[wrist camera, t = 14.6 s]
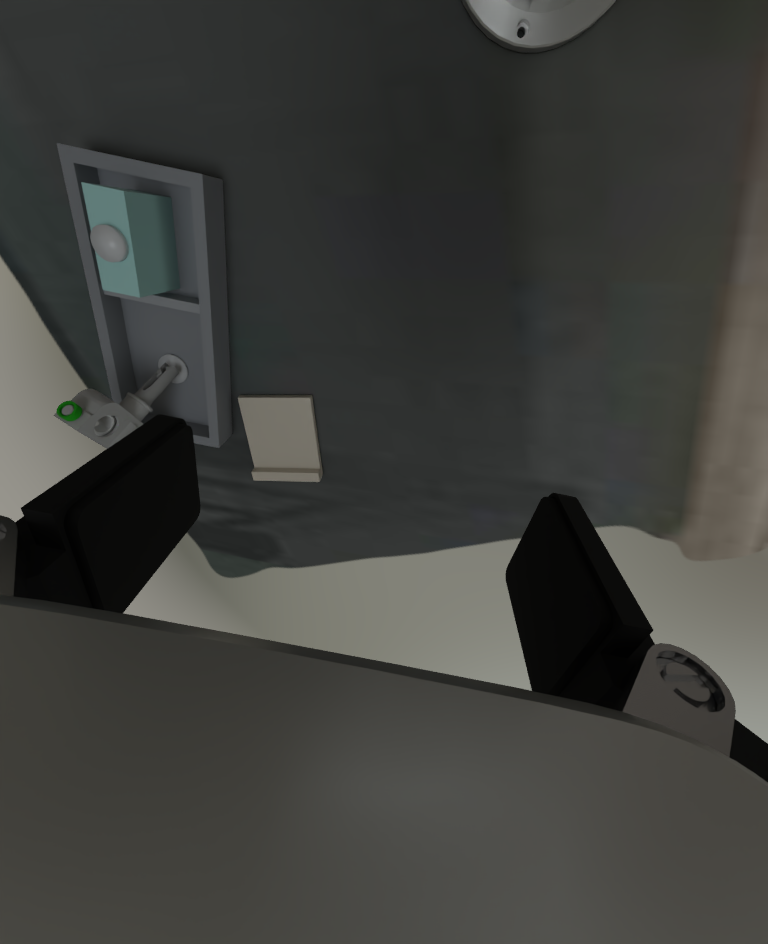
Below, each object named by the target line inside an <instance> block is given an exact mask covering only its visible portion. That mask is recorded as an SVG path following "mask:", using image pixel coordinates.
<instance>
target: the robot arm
mask: <svg viewBox="0 0 768 944" xmlns="http://www.w3.org/2000/svg"><path fill="white" fill-rule="evenodd" d="M615 1H616V0H462V2H463V5H464V7H465V8H466V10H467V12H468V13H469V15H470V17H471V18H472V20H473V22H474V23H475V24H476V26H477V27H478V28H479V29H480V30H481V31H482V32H483V33H484V34H485V35H486V36H487V37H488V38H489V39H491V40H492V41H494V42H496V43H497V44H499V45H500V46H502V47H504V48H507V49H510V50H514V51H517V52H527V53H538V52H543V51H547V50H551V49H555V48H558V47H560V46H562V45H564V44H566V43H568V42H570V41H572V40H574V39H575V38H577V37H578V36H579V35H581V34H582V33H583V32H585V31H586V30H587V29H589V28H590V27H591V26H593V25H594V24H595V23H596V22H597V21H598V20H599V19H600V18H601V17H602V15H603V14H604V13H605V12H606V11H607V10H608V9H609V8H610V7H611V6H612V5H613V4H614V2H615ZM518 30H522V31H523V32H524V37H523V38H519V37H518V36H517V31H518ZM21 510H22V512H23V514H24V517H22V518H21V519H19V520H18V521H17V522H14V521H13V520H11V519H10V518H8V517H4V516H0V944H768V744H767V743H766V742H764V741H763V740H762V739H761V738H759V737H758V736H757V735H755V734H754V733H752V732H751V731H750V730H749V729H747V728H746V727H745V726H743V725H742V724H741V723H740V722H738V721H737V720H735V711H736V710H735V702H734V699H733V697H732V695H731V693H730V691H729V689H728V688H727V686H726V685H725V683H724V682H723V681H722V679H721V678H720V677H719V676H718V675H717V674H716V673H715V672H714V671H713V670H712V669H711V668H710V667H709V666H708V665H707V664H705V663H704V662H703V661H702V660H700V659H699V658H698V657H696V656H695V655H693V654H691V653H689V652H688V651H685V650H684V649H682V648H679V647H676V646H674V645H671V644H662V643H660V644H656V645H655V644H654V642H653V640H652V639H651V637H650V633H651V632H652V631H653V629H652V627H651V625H650V624H649V622H648V620H647V618H646V617H645V615H644V613H643V611H642V610H641V608H640V606H639V605H638V603H637V601H636V599H635V598H634V596H633V594H632V592H631V591H630V589H629V587H628V586H627V584H626V582H625V580H624V579H623V577H622V575H621V573H620V572H619V570H618V568H617V567H616V565H615V563H614V562H613V560H612V558H611V556H610V555H609V553H608V551H607V549H606V547H605V546H604V544H603V542H602V541H601V539H600V537H599V536H598V534H597V532H596V530H595V528H594V527H593V525H592V523H591V522H590V520H589V518H588V516H587V515H586V513H585V511H584V509H583V508H582V506H581V504H580V503H579V501H578V499H577V498H576V497H572V496H567V495H562V494H557V493H552V494H551V495H549V497H543V498H542V499H541V501H540V503H539V505H538V507H537V509H536V511H535V513H534V515H533V517H532V519H531V521H530V523H529V525H528V527H527V529H526V531H525V533H524V535H523V537H522V539H521V541H520V543H519V544H518V547H517V549H516V551H515V552H514V554H513V556H512V559H511V560H510V563H509V564H508V567H507V570H506V583H507V587H508V591H509V595H510V600H511V604H512V608H513V612H514V617H515V621H516V625H517V629H518V633H519V638H520V642H521V646H522V650H523V654H524V659H525V662H526V667H527V671H528V676H529V680H530V684H531V688H532V691H529V690H524V689H520V688H515V687H510V686H505V685H500V684H495V683H490V682H484V681H479V680H474V679H468V678H464V677H459V676H454V675H448V674H443V673H438V672H433V671H428V670H422V669H417V668H412V667H407V666H402V665H397V664H392V663H386V662H381V661H376V660H370V659H365V658H360V657H355V656H349V655H344V654H339V653H334V652H328V651H323V650H318V649H312V648H307V647H302V646H296V645H291V644H286V643H280V642H275V641H270V640H264V639H259V638H254V637H248V636H243V635H237V634H232V633H227V632H221V631H216V630H210V629H205V628H199V627H194V626H188V625H182V624H177V623H172V622H167V621H161V620H155V619H150V618H144V617H139V616H134V615H128V614H123V612H124V611H125V610H126V608H127V607H128V606H129V605H130V603H131V602H132V601H133V600H134V598H135V597H136V596H137V595H138V593H139V592H140V591H141V590H142V588H143V587H144V586H145V584H146V583H147V582H148V581H149V579H150V578H151V577H152V576H153V574H154V573H155V572H156V571H157V569H158V568H159V567H160V565H161V564H162V563H163V562H164V560H165V559H166V558H167V557H168V555H169V554H170V553H171V552H172V550H173V549H174V548H175V546H176V545H177V544H178V543H179V541H180V540H181V539H182V538H183V536H184V535H185V534H186V533H187V531H188V530H189V529H190V527H191V526H192V525H193V524H194V522H195V521H196V520H197V518H198V516H199V513H200V498H199V488H198V478H197V468H196V459H195V449H194V439H193V431H192V428H191V427H190V426H189V425H187V424H186V422H185V420H184V419H182V418H177V417H172V416H167V415H162V414H159V415H156V416H155V417H153V418H152V419H150V420H149V421H147V422H146V423H144V424H143V425H141V426H140V427H139V428H137V429H136V430H134V431H133V432H131V433H130V434H128V435H127V436H125V437H124V438H122V439H121V440H120V441H118V442H117V443H115V444H114V445H112V446H111V447H109V448H108V449H107V450H105V451H103V452H102V453H100V454H99V455H98V456H96V457H95V458H93V459H92V460H90V461H89V462H87V463H86V464H85V465H83V466H82V467H80V468H79V469H77V470H76V471H74V472H73V473H71V474H70V475H68V476H67V477H65V478H64V479H62V480H61V481H60V482H58V483H57V484H55V485H54V486H52V487H51V488H49V489H48V490H46V491H45V492H44V493H42V494H41V495H39V496H38V497H36V498H35V499H33V500H32V501H30V502H29V503H27V504H26V505H24V506H23V507H22V508H21Z"/></svg>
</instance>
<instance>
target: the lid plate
mask: <svg viewBox="0 0 768 944" xmlns="http://www.w3.org/2000/svg"><path fill="white" fill-rule="evenodd" d="M238 401H239V405H240V409H241V413H242V418H243V422H244V426H245V430H246V434H247V438H248V442H249V446H250V450H251V454H252V458H253V463H254V467H255V468H254V469H253V471H252V476H253V480H258V481H303V482H320V479H321V477H322V474H323V471H322V464H321V457H320V449H319V442H318V435H317V427H316V420H315V413H314V405H313V398H312V395H240V396H239V397H238Z"/></svg>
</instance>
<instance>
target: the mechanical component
mask: <svg viewBox="0 0 768 944" xmlns="http://www.w3.org/2000/svg"><path fill="white" fill-rule="evenodd" d="M178 374H179V371H178V370H177V369H176V368H175V367H169V365H168V364H167V363H166V362H165V363H164V364H163V365H162V366H161V367H160V368H159V369H158V370H157V371H156V373H155V374H154V375H153V376H152V377H151V378H150V379H149V380H148V381H147V382H146V383H145V384H144V385H143V386H142V387H141V388H140V389H139V390H138V391H137V392H136V393H134V394H132V393H129V392H128V393H127V396H126V397H125V398H124V399H123V400H122V401H121V402H120V403H119V404H117V403H116V402H114V401H112V400H111V399H109V398H108V397H106V396H104V395H103V394H101V393H100V392H98V391H96V390H94V389H86V390H83V391H81V392H80V393H78V394H77V395H76V396H75V397H74V398H73V399H72V400H71V401H66V402H63V403H62V404H61V405H59V407H58V408H57V413H56V414H55V415H54V416H55V417H57V418H58V419H60V420H61V421H63V422H64V423H66V424H68V425H69V426H71V427H72V428H74V429H75V430H77V431H78V432H80V433H82V434H83V435H85V436H87V437H88V438H90V439H92V440H93V441H95V442H97V443H98V444H100V445H102V446H103V447H105V448H107V449H108V448H109V447H111V446H112V445H114V444H115V443H117V442H118V441H120V440H121V439H122V438H124V437H125V436H127V435H128V434H130V433H131V432H133V431H134V430H136V429H137V428H139V427H140V426H141V425H143V423H142V422H141V421H142V420H143V418H144V417H145V416H146V415H147V414H148V413H149V412H152V411H153V409H152V408H151V407H150V406H151V404H152V402H153V401H154V400H155V399H156V398H157V397H158V396H159V395H160V394H161V393H162V392H163V390H164V389H165V388H166V387H167V386H168V385H169V384H170V383H171V382H172V381H173V380H174V379H175V378H176V376H177V375H178Z"/></svg>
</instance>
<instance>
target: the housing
mask: <svg viewBox="0 0 768 944" xmlns="http://www.w3.org/2000/svg"><path fill="white" fill-rule="evenodd" d="M57 147H58V152H59V156H60V161H61V165H62V170H63V175H64V179H65V184H66V188H67V193H68V198H69V202H70V207H71V211H72V216H73V221H74V225H75V230H76V234H77V239H78V244H79V248H80V253H81V257H82V262H83V266H84V271H85V276H86V280H87V285H88V289H89V294H90V299H91V303H92V308H93V312H94V317H95V322H96V326H97V331H98V335H99V340H100V345H101V349H102V354H103V358H104V363H105V367H106V372H107V377H108V381H109V386H110V390H111V395H112V400H113V401H114V402H116V403H117V404H119V403H120V402H121V401H122V400H123V399H124V398H125V397H126V396H127V393H128V392H129V393H132V394H134V393H136V392H137V391H138V390H139V389H140V388H141V387H142V386H143V385H144V384H145V383H146V382H147V381H148V380H149V379H150V378H151V377H152V376H153V375H154V374H155V373H156V371H157V370H158V369H159V368H160V367H161V366H162V365H163V364H164V363H165V362H166V363H167V364H168V365H169V367H175V368H176V369H177V370H178V371H179V374H178V375H177V376H176V378H175V379H174V380H173V381H172V382H171V383H170V384H169V385H168V386H167V387H166V388H165V389H164V390H163V392H162V393H161V394H160V395H159V396H158V397H157V398H156V399H155V400H154V401H153V402H152V404H151V406H150V407H151V408H152V409H153V411H152V412H149V413H148V414H147V415H146V416H145V417H144V418H143V420H142V421H141V422H142V423H143V424H144V423H146V422H147V421H149V420H150V419H152V418H153V417H155V416H156V415H159V414H162V415H167V416H172V417H177V418H182V419H184V420H185V422H186V424H187V425H189V426H190V427H191V428H192V431H193V439H194V443H197V444H202V445H207V446H212V447H217V448H220V447H221V446H222V445H223V444H224V442H225V441H226V440H227V439H228V438H229V437H230V436H231V435H232V434H233V427H232V401H231V376H230V350H229V325H228V299H227V274H226V248H225V223H224V197H223V180H222V179H219V178H215V177H211V176H207V175H203V174H199V173H194V172H190V171H185V170H180V169H176V168H171V167H166V166H162V165H157V164H152V163H148V162H143V161H138V160H134V159H129V158H124V157H120V156H115V155H110V154H106V153H101V152H96V151H91V150H87V149H82V148H77V147H73V146H68V145H63V144H59V143H57Z"/></svg>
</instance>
